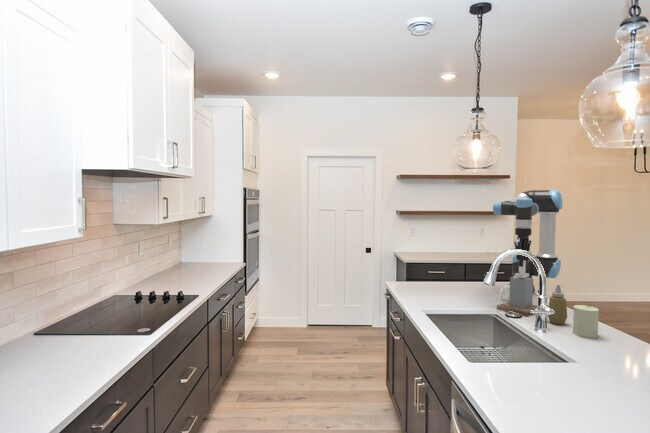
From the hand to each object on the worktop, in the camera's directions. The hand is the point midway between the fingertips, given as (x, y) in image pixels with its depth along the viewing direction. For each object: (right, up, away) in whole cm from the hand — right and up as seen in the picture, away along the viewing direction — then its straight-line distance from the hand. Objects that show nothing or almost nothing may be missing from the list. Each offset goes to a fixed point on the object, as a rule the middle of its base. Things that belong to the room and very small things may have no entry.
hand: (522, 272), depth 200 cm
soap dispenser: (0, -18, +1) cm, 18 cm away
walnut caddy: (0, -20, +1) cm, 20 cm away
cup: (+3, -19, +21) cm, 29 cm away
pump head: (-2, -10, -1) cm, 10 cm away
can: (+9, -22, -35) cm, 42 cm away
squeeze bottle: (+6, -21, -21) cm, 30 cm away
